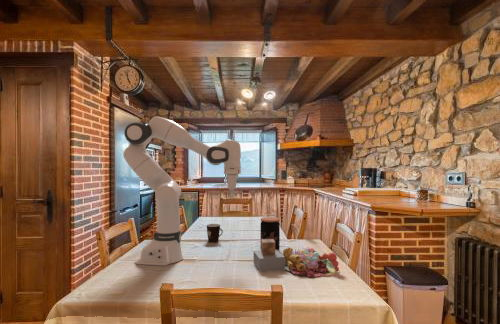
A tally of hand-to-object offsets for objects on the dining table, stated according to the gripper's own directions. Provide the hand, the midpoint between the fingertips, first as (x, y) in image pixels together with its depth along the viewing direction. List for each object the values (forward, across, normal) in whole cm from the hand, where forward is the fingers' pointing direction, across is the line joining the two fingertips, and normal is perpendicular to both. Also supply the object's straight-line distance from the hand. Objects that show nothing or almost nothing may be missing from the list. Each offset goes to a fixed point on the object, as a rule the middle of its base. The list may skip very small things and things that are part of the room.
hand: (232, 196), depth 148 cm
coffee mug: (+31, -29, -12) cm, 44 cm away
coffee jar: (+31, -9, +21) cm, 39 cm away
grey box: (+32, +14, +18) cm, 39 cm away
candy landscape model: (+32, +17, +37) cm, 52 cm away
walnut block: (+26, +14, +18) cm, 34 cm away
